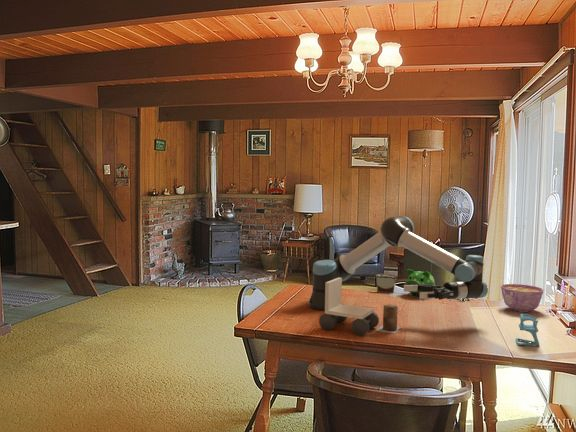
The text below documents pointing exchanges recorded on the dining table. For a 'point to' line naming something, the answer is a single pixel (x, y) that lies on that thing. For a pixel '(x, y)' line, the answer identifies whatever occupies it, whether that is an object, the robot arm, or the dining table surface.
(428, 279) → the piggy bank
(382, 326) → the pad
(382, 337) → the dining table surface
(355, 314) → the trolley
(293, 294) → the dining table surface
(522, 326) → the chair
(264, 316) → the dining table surface
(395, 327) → the cylindrical block
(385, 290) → the food container
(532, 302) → the bowl of food
